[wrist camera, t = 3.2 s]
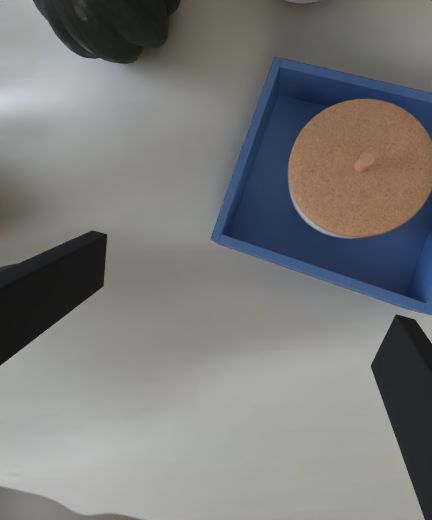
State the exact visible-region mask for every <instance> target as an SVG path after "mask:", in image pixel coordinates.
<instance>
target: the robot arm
mask: <svg viewBox="0 0 432 520" xmlns="http://www.w3.org/2000/svg"><path fill="white" fill-rule="evenodd" d="M106 245H107V234H103V233H100V232H96V231H93V230H92V231H90V232H88V233H85V234H83V235H81V236H79V237H77V238H74V239H72V240H70V241H68V242H65V243H63V244H61V245H59V246H56V247H54V248H52V249H50V250H47V251H45V252H43V253H41V254H39V255H36V256H34V257H32V258H30V259H27V260H25V261H23V262H21V263H18V264H13V265H8V266H4V267H0V365H1V364H3V363H4V362H5V361H7V360H8V359H9V358H11V357H12V356H13V355H14V354H16V353H17V352H18V351H20V350H21V349H22V348H24V347H25V346H26V345H27V344H29V343H30V342H31V341H33V340H34V339H35V338H37V337H38V336H39V335H40V334H42V333H43V332H44V331H46V330H47V329H48V328H50V327H51V326H52V325H53V324H55V323H56V322H57V321H59V320H60V319H61V318H63V317H64V316H65V315H66V314H68V313H69V312H70V311H72V310H73V309H74V308H76V307H77V306H78V305H79V304H81V303H82V302H83V301H85V300H86V299H87V298H89V297H90V296H91V295H92V294H94V293H95V292H96V291H98V290H99V289H100V288H102V287H103V285H104V272H105V258H106ZM371 368H372V371H373V374H374V377H375V380H376V382H377V385H378V388H379V391H380V394H381V397H382V399H383V402H384V405H385V408H386V411H387V414H388V416H389V419H390V422H391V425H392V428H393V431H394V433H395V436H396V439H397V442H398V445H399V447H400V450H401V453H402V456H403V459H404V462H405V464H406V467H407V470H408V473H409V476H410V479H411V481H412V484H413V487H414V490H415V493H416V496H417V498H418V501H419V504H420V507H421V510H422V512H423V515H424V518H425V520H432V343H431V342H430V340H429V339H428V338H427V336H426V335H425V333H424V332H423V330H422V329H421V327H420V326H419V325H418V323H417V322H416V320H415V319H411V318H407V317H404V316H400V315H395V317H394V319H393V321H392V323H391V326H390V328H389V330H388V332H387V334H386V336H385V338H384V340H383V342H382V344H381V346H380V348H379V350H378V352H377V354H376V356H375V358H374V360H373V362H372V364H371Z"/></svg>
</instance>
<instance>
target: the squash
mask: <svg viewBox="0 0 432 520" xmlns="http://www.w3.org/2000/svg"><path fill="white" fill-rule="evenodd" d="M33 2H34V3H35V5H36V7H37V9H38V10H39V11H40V12H41V14H42V15H43V16H44V17H45V18H46V19H47V20H48V22H49V24H50V25H51V27H52V29H53V31H54V32H55V34H56V35H57V36H58V38H59V39H60V40H61V41H62V42H63V43H64V44H65V45H66V46H67V47H68V48H69V49H70V50H71V51H73V52H74V53H76V54H78V55H80V56H82V57H86V58H94V59H96V58H102V59H104V60H106V61H110V62H114V63H122V64H129V63H133V62H134V61H135V60H137V58H138V56H139V55H140V52H141V48H142V46H144V47H147V48H159V47H160V46H162V45H163V44H164V43H165V41H166V39H167V34H168V16H170V15H171V14H173V13H174V12H175V11H176V10H177V8H178V6H179V4H180V0H33Z"/></svg>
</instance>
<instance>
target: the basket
mask: <svg viewBox="0 0 432 520" xmlns="http://www.w3.org/2000/svg"><path fill="white" fill-rule="evenodd" d="M354 99H376V100H382V101H385V102H389V103H392V104H394V105H397V106H399V107H401V108H403V109H404V110H406V111H407V112H409V113H410V114H412V115H413V116H414V117H415V118H416V119H417V120H418V121H419V122H420V123H421V124H422V126H423V127H424V128H425V130H426V131H427V133H428V135H429V137H430V139H431V141H432V93H429V92H425V91H420V90H416V89H412V88H407V87H403V86H399V85H394V84H390V83H386V82H382V81H377V80H373V79H369V78H364V77H360V76H356V75H351V74H347V73H343V72H339V71H334V70H330V69H326V68H321V67H317V66H313V65H308V64H304V63H300V62H296V61H291V60H287V59H283V60H282V58H277V57H274V60H273V62H272V65H271V68H270V71H269V74H268V77H267V80H266V82H265V85H264V88H263V91H262V94H261V97H260V99H259V102H258V105H257V108H256V111H255V114H254V117H253V119H252V122H251V125H250V128H249V131H248V134H247V136H246V139H245V142H244V145H243V148H242V151H241V154H240V156H239V159H238V162H237V165H236V168H235V171H234V174H233V176H232V179H231V182H230V185H229V188H228V191H227V193H226V196H225V199H224V202H223V205H222V208H221V211H220V213H219V216H218V219H217V222H216V225H215V228H214V230H213V233H212V236H211V240H213V241H214V242H216V243H217V244H219V245H222V246H225V247H228V248H231V249H234V250H237V251H239V252H242V253H245V254H248V255H251V256H254V257H257V258H260V259H263V260H266V261H269V262H271V263H274V264H277V265H280V266H283V267H286V268H289V269H292V270H295V271H298V272H300V273H303V274H306V275H309V276H312V277H315V278H318V279H321V280H324V281H327V282H329V283H332V284H335V285H338V286H341V287H344V288H347V289H350V290H353V291H356V292H359V293H361V294H364V295H367V296H370V297H373V298H376V299H379V300H382V301H385V302H388V303H390V304H393V305H396V306H399V307H402V308H405V309H408V310H412V311H416V312H420V313H424V314H428V315H432V190H431V192H430V195H429V197H428V198H427V200H426V202H425V203H424V205H423V206H422V207H421V208H420V210H419V211H418V212H417V213H416V214H415V215H414V216H413V217H412V218H410V219H409V220H408V221H407V222H405V223H404V224H402V225H400V226H399V227H397V228H395V229H393V230H390V231H388V232H386V233H383V234H379V235H375V236H371V237H364V238H355V239H347V238H337V237H332V236H329V235H326V234H323V233H321V232H319V231H317V230H316V229H314V228H312V227H311V226H310V225H309V224H307V223H306V222H305V221H304V220H303V218H302V217H301V216H300V215H299V213H298V212H297V210H296V209H295V207H294V204H293V202H292V199H291V196H290V192H289V185H288V164H289V158H290V154H291V150H292V148H293V145H294V143H295V140H296V139H297V137H298V135H299V134H300V132H301V130H302V129H303V128H304V127H305V126H306V124H307V123H308V122H309V121H310V120H311V119H313V118H314V117H315V116H316V115H317V114H319V113H320V112H322V111H323V110H325V109H327V108H329V107H331V106H333V105H335V104H338V103H341V102H344V101H348V100H354Z"/></svg>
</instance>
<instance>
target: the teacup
mask: <svg viewBox="0 0 432 520" xmlns="http://www.w3.org/2000/svg"><path fill="white" fill-rule="evenodd" d="M286 1H289V2H293V3H300V4H305V3H313V2H317V1H320V0H286Z"/></svg>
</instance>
